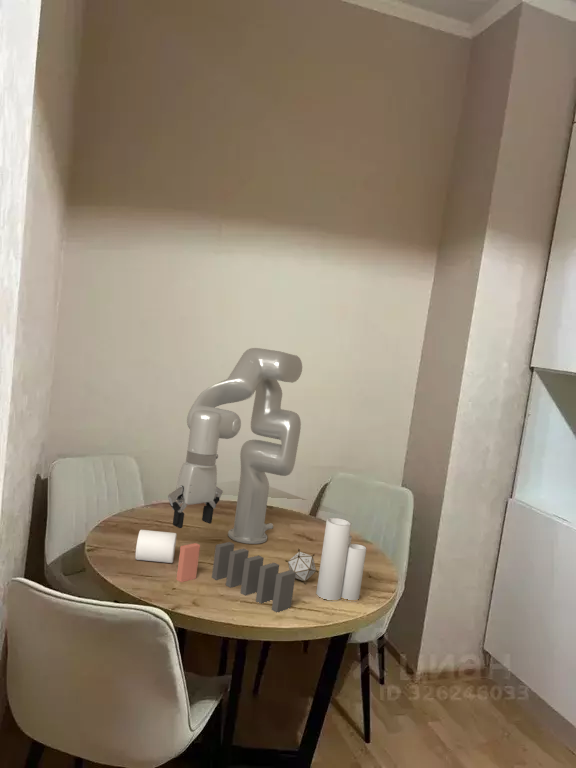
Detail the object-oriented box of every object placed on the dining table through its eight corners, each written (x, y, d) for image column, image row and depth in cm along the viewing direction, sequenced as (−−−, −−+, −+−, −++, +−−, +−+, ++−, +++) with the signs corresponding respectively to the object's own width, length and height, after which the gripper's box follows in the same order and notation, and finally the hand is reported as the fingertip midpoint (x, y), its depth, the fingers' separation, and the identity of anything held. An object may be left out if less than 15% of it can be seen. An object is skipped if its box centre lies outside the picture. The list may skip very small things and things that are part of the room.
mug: (171, 567, 174) (175, 538, 173) (134, 563, 173) (137, 535, 172) (175, 551, 186) (178, 524, 185) (140, 548, 185) (143, 521, 184)
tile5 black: (269, 596, 163) (274, 562, 162) (274, 599, 162) (279, 564, 161) (255, 601, 159) (260, 566, 159) (260, 604, 158) (265, 568, 157)
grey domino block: (285, 605, 159) (290, 570, 159) (290, 607, 158) (295, 572, 158) (271, 609, 156) (276, 574, 155) (277, 612, 155) (282, 576, 154)
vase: (321, 601, 164) (332, 525, 163) (312, 589, 171) (322, 516, 170) (361, 601, 168) (372, 527, 166) (351, 589, 175) (361, 518, 173)
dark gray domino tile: (239, 581, 170) (243, 548, 170) (244, 583, 169) (248, 550, 168) (225, 585, 167) (230, 551, 166) (230, 587, 165) (234, 553, 165)
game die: (292, 590, 178) (286, 554, 183) (322, 584, 178) (315, 548, 182) (287, 585, 170) (281, 548, 175) (319, 578, 170) (311, 541, 175)
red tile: (191, 576, 170) (195, 542, 169) (195, 578, 168) (200, 545, 168) (176, 579, 166) (180, 546, 165) (180, 582, 165) (185, 548, 164)
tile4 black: (254, 588, 167) (258, 555, 166) (259, 591, 166) (263, 557, 165) (240, 593, 163) (244, 558, 162) (245, 595, 162) (249, 561, 161)
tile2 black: (225, 574, 174) (229, 541, 173) (230, 576, 173) (234, 543, 172) (211, 577, 170) (215, 544, 169) (216, 580, 169) (220, 547, 168)
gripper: (216, 454, 173) (208, 516, 174) (164, 457, 160) (156, 524, 161) (235, 460, 168) (226, 524, 169) (183, 464, 155) (174, 533, 156)
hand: (192, 524), depth 165 cm, fingers open, 9 cm apart
